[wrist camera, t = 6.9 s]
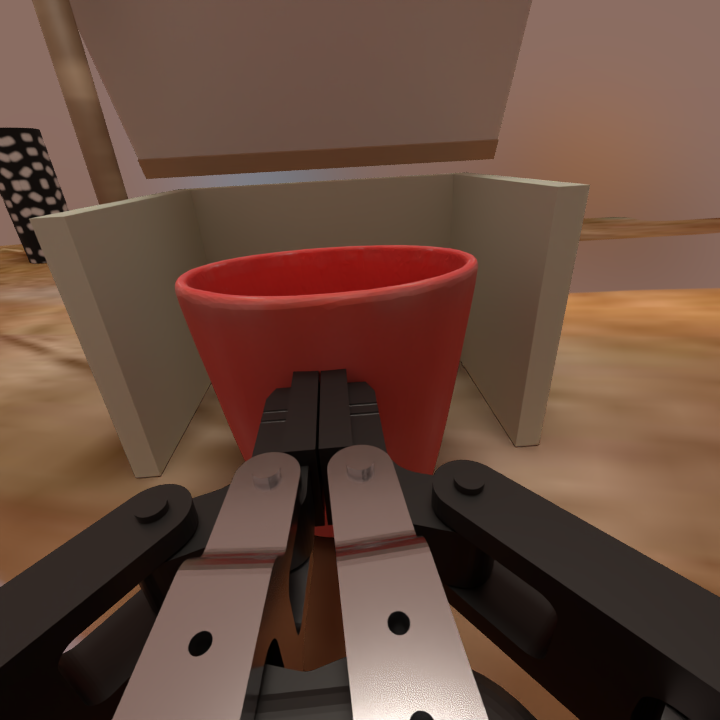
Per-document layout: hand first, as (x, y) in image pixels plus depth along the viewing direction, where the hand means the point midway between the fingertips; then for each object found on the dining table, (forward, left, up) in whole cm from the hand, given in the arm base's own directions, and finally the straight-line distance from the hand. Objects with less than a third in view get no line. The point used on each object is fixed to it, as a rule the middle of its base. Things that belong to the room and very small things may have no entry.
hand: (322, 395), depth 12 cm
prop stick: (+11, -13, -7) cm, 19 cm away
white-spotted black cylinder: (+50, -65, -7) cm, 83 cm away
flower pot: (0, -4, -7) cm, 8 cm away
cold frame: (0, -13, -7) cm, 15 cm away
